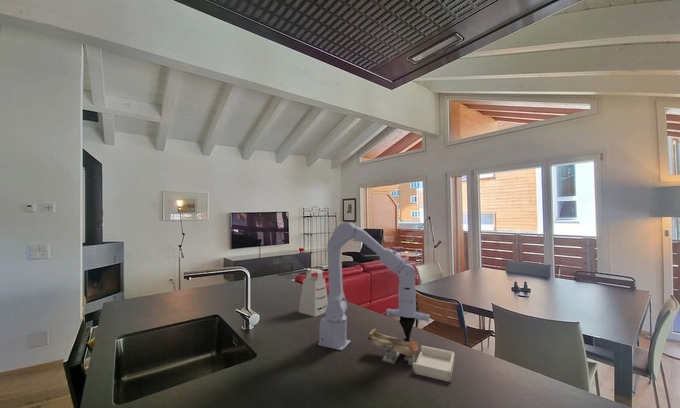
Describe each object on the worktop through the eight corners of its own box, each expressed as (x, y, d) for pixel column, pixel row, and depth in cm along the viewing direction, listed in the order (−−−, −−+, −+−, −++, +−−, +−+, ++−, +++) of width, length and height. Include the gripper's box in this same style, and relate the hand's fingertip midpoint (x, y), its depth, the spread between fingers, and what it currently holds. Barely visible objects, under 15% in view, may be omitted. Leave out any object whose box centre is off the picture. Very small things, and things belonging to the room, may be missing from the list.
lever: (367, 342, 96) (368, 333, 96) (378, 330, 106) (379, 323, 106) (413, 357, 89) (414, 348, 89) (419, 343, 99) (420, 335, 99)
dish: (413, 373, 85) (413, 363, 85) (421, 353, 97) (421, 345, 97) (450, 382, 80) (450, 372, 80) (454, 360, 92) (454, 352, 92)
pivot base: (382, 361, 92) (382, 345, 92) (389, 350, 99) (389, 335, 100) (410, 368, 88) (410, 351, 88) (416, 356, 95) (416, 340, 95)
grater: (312, 306, 147) (313, 267, 148) (329, 310, 141) (329, 269, 141) (298, 312, 138) (299, 270, 139) (315, 316, 132) (315, 272, 133)
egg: (407, 341, 91) (417, 343, 90) (409, 337, 94) (419, 339, 93) (406, 351, 91) (417, 354, 90) (409, 347, 94) (419, 349, 92)
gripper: (430, 298, 100) (431, 338, 99) (390, 294, 106) (390, 331, 105) (427, 304, 93) (428, 347, 93) (384, 299, 100) (384, 339, 99)
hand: (407, 339), depth 99 cm, fingers closed, pressing on lever
